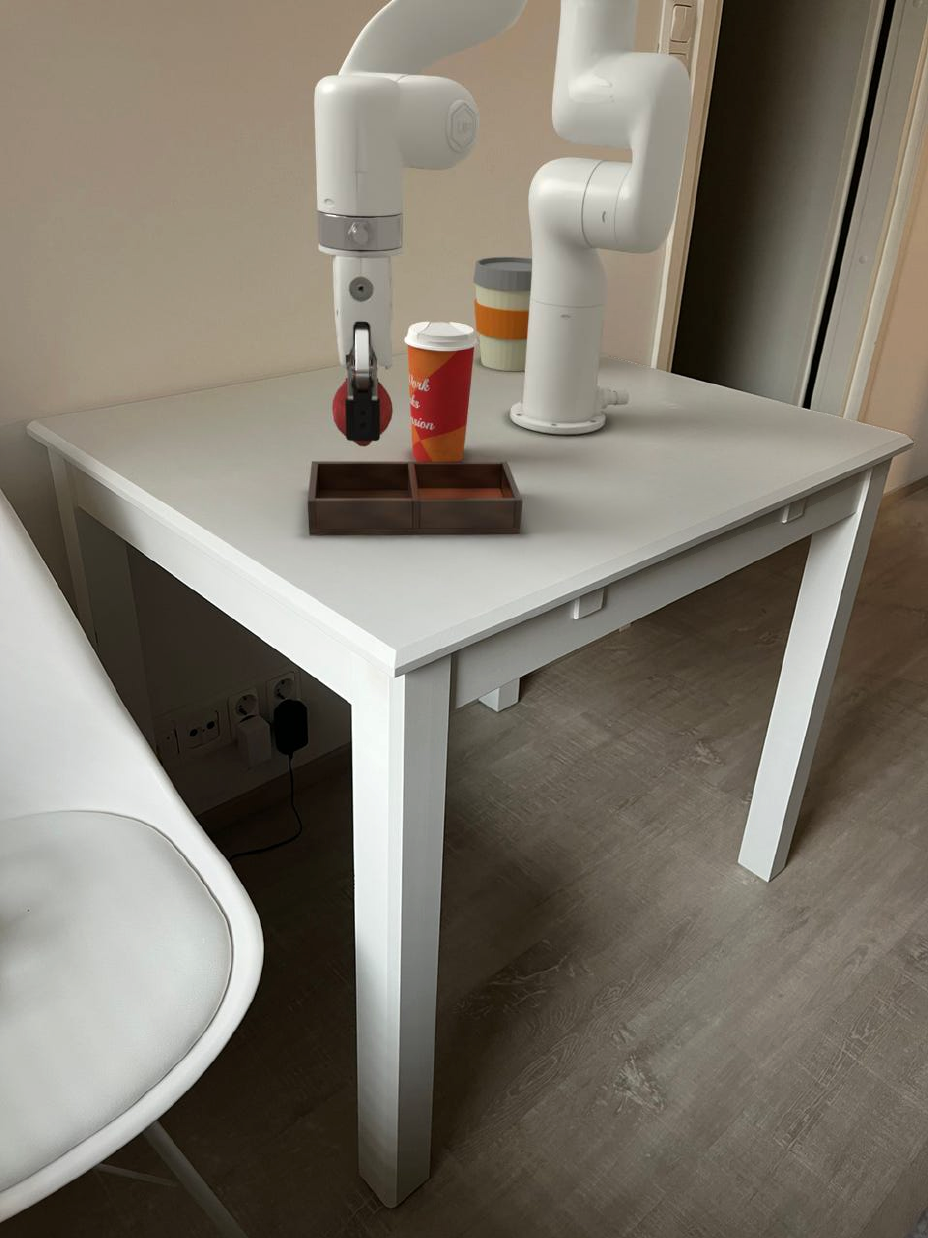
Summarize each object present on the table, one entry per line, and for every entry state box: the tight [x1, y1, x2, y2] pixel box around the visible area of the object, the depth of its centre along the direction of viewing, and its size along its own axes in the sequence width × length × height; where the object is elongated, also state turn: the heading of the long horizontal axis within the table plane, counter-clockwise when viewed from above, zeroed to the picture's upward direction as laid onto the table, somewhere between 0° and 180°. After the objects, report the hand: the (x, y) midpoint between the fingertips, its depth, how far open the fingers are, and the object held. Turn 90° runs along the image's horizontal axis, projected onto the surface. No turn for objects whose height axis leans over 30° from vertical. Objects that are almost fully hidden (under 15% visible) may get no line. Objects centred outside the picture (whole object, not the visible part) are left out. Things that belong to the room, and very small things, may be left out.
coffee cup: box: [404, 321, 479, 462], centre depth 111 cm, size 8×8×15 cm
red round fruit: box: [331, 373, 394, 447], centre depth 94 cm, size 6×6×8 cm
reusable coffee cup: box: [472, 256, 532, 372], centre depth 149 cm, size 13×13×15 cm
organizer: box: [307, 460, 523, 536], centre depth 99 cm, size 21×11×4 cm, turn 96°
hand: (362, 426), depth 95 cm, fingers closed on red round fruit, 5 cm apart
